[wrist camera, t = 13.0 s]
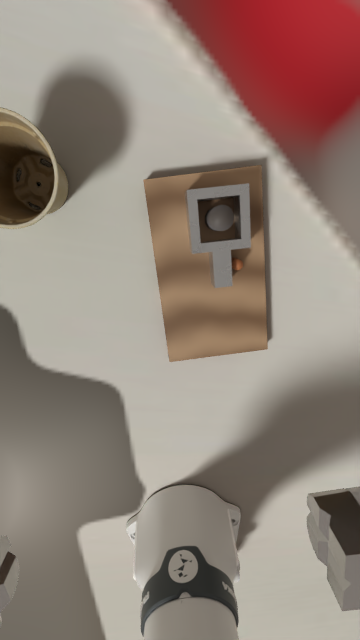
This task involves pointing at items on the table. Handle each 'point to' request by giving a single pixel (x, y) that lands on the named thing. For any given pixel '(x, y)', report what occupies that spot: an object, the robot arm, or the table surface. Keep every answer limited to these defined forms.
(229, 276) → the grey square frame
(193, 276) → the board
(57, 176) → the flower pot
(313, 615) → the table surface
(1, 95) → the table surface
